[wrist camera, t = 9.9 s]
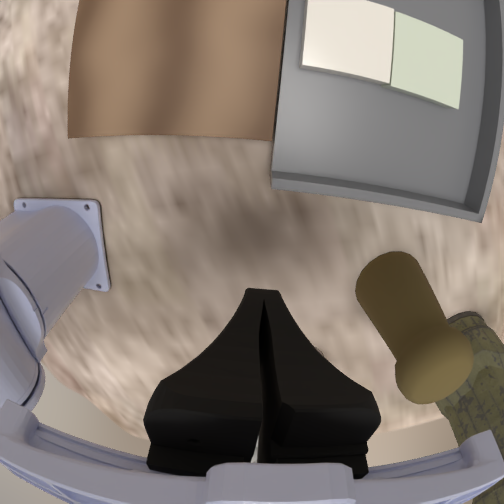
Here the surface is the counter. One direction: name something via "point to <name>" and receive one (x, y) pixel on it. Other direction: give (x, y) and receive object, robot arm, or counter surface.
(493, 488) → the thermos
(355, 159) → the box
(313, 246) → the counter surface
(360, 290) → the cork
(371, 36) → the tile
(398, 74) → the tile
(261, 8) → the walnut plate
